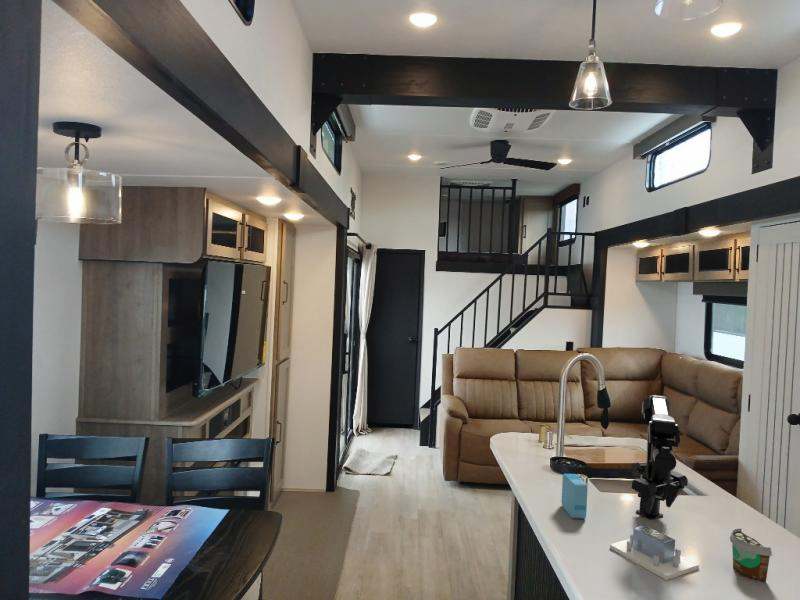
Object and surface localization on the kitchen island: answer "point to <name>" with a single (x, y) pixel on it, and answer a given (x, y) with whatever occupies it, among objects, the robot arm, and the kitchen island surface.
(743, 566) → the food container
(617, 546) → the cream pegged board
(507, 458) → the kitchen island surface
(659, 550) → the block
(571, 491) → the light blue box
